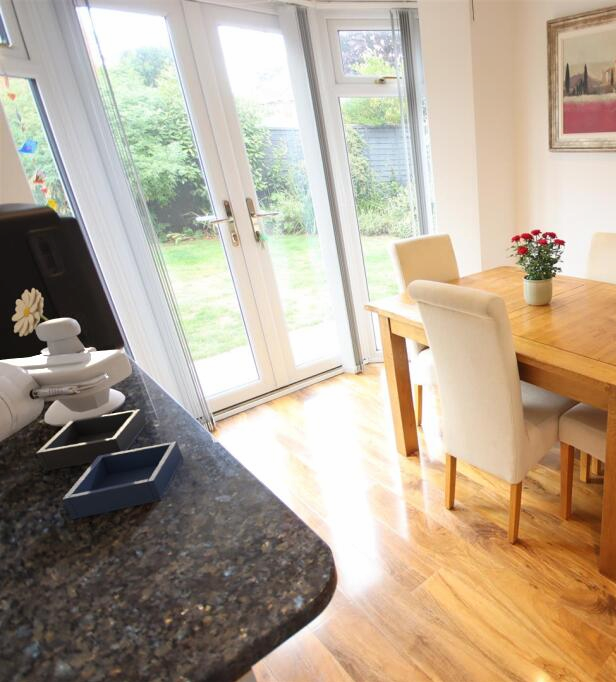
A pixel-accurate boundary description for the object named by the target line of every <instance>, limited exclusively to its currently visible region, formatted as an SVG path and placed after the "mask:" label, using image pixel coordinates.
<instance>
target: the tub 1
mask: <svg viewBox="0 0 616 682" xmlns="http://www.w3.org/2000/svg"><path fill="white" fill-rule="evenodd" d="M146 427H147V423H146V420H145V417H144V415H143V413H142V410H141V408H138V409H133V410H126V411H121V412H114V413H110V414H108V415H102V416H96V417H89V418H83V419H77V420H71V421H70V422H69V423H67V424H66V425H65V426H62V428H61V429H60V430H59V431H58V432H57V433H56V434H55V435H53V436H52V437H51V439H49V440H48V441H47V442H46V443H45V444H44V445H43V446H42V447H41V448H40V449H39V450H38V451H36V453H35V454H36V456H37V458H38V460H39V463H40V465H41V467H42V469H43V471H44V472H48V471H49V472H50V471H54V470H60V469H64V468H69V467H75V466H80V465H86V464H90V463H91V464H92V463H93V462H94V461H95V459H96V458H97V457H98V456H101V455H106V454H112V453H117V452H122V451H128V450H130V448H131V447H132V445H133V444H134V442H135V441H136V440H137V439H138V437H139V436H140V434H141V433H142V432H143V431H144V429H145V428H146Z"/></svg>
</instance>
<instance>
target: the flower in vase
mask: <svg viewBox="0 0 616 682" xmlns="http://www.w3.org/2000/svg"><path fill="white" fill-rule="evenodd" d="M15 305H16V306H15V309H14V310H15V314H13V315H12V317H11V321H12V322H16V323H15V324H14V326H13V328H14V329H13V332H14V334H16V333H19V335H18V336H19V337H23V336H25V337H26V336H28V335H29V334H31V333H33V331H34V330H35V329H36V327H37V326H38V324H40V321H41V320H40V319H43V320H44V322H46V321H49V320H50V319H48V318H47V317H45V316H44V315H43V313H44V310H43V308H44V297H43V296H42V293H41V292H39V290H38V289H35V288H34V287H32V288H31V292H30V291H29V290H28V289H25V290H24V292H23V293H22V294H21V299H19V298H18V299H16V301H15ZM45 352H48V346H47V347H45V348H43V349H42V350H40V353H41V354H43V353H45ZM125 400H126V396H125V395H124V394H123V393H122V392H121V391H119V390H116V389H114V388H110V393H109V402H108V403H106V404H104V405H102V406H101V407H99V408H96V409H92V410H89V411H85V412H74V411H71V410H70V409H68V408H67V407H66V406H64V405H63V404H62V403H60V402H59V401H58V400H55V401H53V402H52V404H51V405H50V406H49V407H48V409H47V411H45V413H44V419H43V420H44V422H45V423H46V424H48V425H50V426H53V427H64V426H65V425H66V424H67V423H69V422H70V421H71V420H77V419H83V418H89V417H96V416H102V415H108V414H112V413H113V412H115V411H116V410H118V409H119V408H121V407H122V406H123V404H124V403H125Z"/></svg>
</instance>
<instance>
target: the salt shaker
mask: <svg viewBox="0 0 616 682" xmlns="http://www.w3.org/2000/svg"><path fill="white" fill-rule="evenodd" d="M48 320H49V321H44V322H41V323H38V324H37V326H36V328H35V329H34V330H35V334H36V335H37V338H38V339H39V340H40V341H42V342H46V344H47V345H46V346H47V347H48V351H49V356H53V355H64V354H75V353H76V352H77V351H80V350H82V349H84V348H86V347H85V346H84V344H83V343H82V342H81V341H80V339H79V337H78V335H80V334H81V331H82V329H81V325H80V324H79V322H78V321H77V320H76V319H74V318H71V317H60V318H53V319H48ZM110 389H111V387H110V388H108V389H106V390H104V391H102V392H99V393H97V394H94V395H91V396H87V397H82V398H74V399H64V400H58V401H59V402H60V403H62V404H63V405H64V406H66V407H67V408H68V409H70V410H71V411H74V412H85V411H89V410H92V409H96V408H99V407H101V406H102V405H104V404H106V403H108V402H109V393H110Z"/></svg>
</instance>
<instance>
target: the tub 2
mask: <svg viewBox="0 0 616 682" xmlns="http://www.w3.org/2000/svg"><path fill="white" fill-rule="evenodd" d="M183 460H184V457H183V455H182V452H181V449H180V446H179V443H178V441H172V442H165V443H160V444H154V445H149V446H144V447H139V448H133V449H128V450H127V451H122V452H117V453H112V454H106V455H101V456H98V457H97V458H96V459H95V461H94V462H91V464H90V465H89V466H88V468H87V469H86V470H85V471H84V472H83V474H82V475H81V476H80V477H79V479H77V481H76V482H75V483H74V484H73V486H72V487H71V488H70V489H69V491H67V493H66V494H65V495H64V496H63V498H62V499H61V500H62V502H63V504H64V506H65V508H66V510H67V512H68V514H69V516H70V518H71V520H77V519H81V518H86V517H90V516H95V515H101V514H103V513H108V512H109V513H110V512H113V511H117V510H123V509H128V508H131V507H137V506H139V505H140V506H141V505H145V504H150V503H155V502H159V501H162V500H163V498H164V496H165V494H166V493H167V490H168V489H169V487H170V485H171V483H172V481H173V480H174V477H175V475H176V473H177V472H178V469H179V468H180V466H181V464H182V463H183Z"/></svg>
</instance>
